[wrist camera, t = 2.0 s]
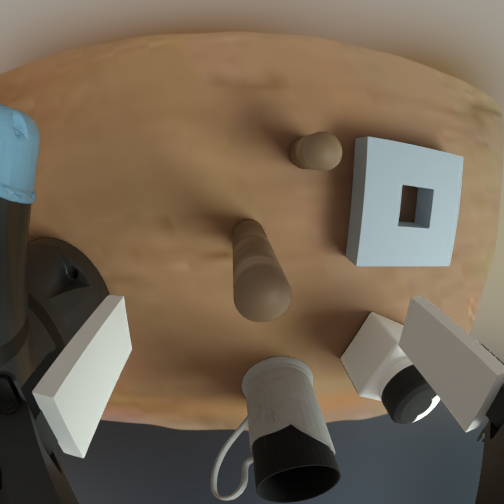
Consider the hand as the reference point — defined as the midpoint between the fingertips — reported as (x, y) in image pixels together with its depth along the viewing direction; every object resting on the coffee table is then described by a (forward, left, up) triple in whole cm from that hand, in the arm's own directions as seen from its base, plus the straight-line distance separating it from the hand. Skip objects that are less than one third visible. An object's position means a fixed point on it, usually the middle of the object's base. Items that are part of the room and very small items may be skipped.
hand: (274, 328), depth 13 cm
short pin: (+5, +8, -17) cm, 19 cm away
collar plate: (+16, +4, -17) cm, 24 cm away
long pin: (0, 0, -17) cm, 17 cm away
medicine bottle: (+16, -13, -17) cm, 27 cm away
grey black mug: (+2, -20, -17) cm, 26 cm away
